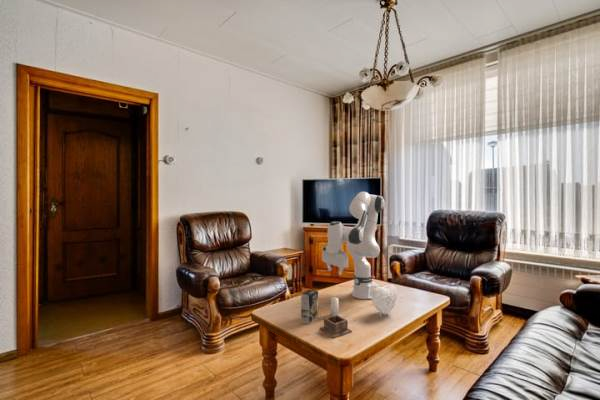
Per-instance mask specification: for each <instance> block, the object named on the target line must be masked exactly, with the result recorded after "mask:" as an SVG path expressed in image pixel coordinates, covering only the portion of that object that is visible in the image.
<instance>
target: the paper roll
mask: <svg viewBox="0 0 600 400" xmlns="http://www.w3.org/2000/svg"><path fill="white" fill-rule="evenodd" d="M333 315H338V316H339V298H338V297H334V296H333V297H331V298H330V316H333Z"/></svg>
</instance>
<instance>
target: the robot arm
mask: <svg viewBox="0 0 600 400" xmlns="http://www.w3.org/2000/svg"><path fill="white" fill-rule="evenodd" d="M385 201H386V200H385V197H383V196H382V195H376V194H369V192H367V191H360V192H358V193H357V194H356V195H354V196H353V199H352V200H351V203H350V204H349V207H348V209H349V213H350V214H351V215H352V216H353V217H354V218H355V219H358V220H357V224H356V225H355V226H345V225H343V224H342V222H341V221H338V220H336V221H331V222H329V223H328V227H327V235H326V236H327V243H326V246H325V245H324V246H322V247H321V250H322V252H321V260H322V262H323V263H325V264H326V267H327V271H329V272H331V271H332V267H331V265H332V266H335V267H338V269H339V270H338V271H337V275H339V276H341V275H342V274H343V271H344V269H346V268H347V269H348V268H349V257H348V254H347V253H346V251H345V250H343V243H347V244H346V250H347V252H348V253H349V255H350V256H351V258H352V261H353V264H354V265H353V266H354V275H353V280H354V282H353V287H352V288H353V289H352V294H351V296H353V297H354V298H357V299H362V300H371V301H372V292H373V290H374V289H375V288H377V287H380V286H379V285H378V284H377V283H376V282H374V280H375V278H376V276H375V275H371V274H372V273H371V272H372V269H371V268H372V267H371V263H370V262H369V261H368V260H367V258H368V259H373V258H374V259H375V258H377V257H378V256H379V255H380V252H381V249H380V246H379V244H378V242H377V241H376V228H377V223H378V219H379V218H378V216H379V213H380V212H381V211H383V210H384V207H385V203H386V202H385ZM376 292H377V291H376ZM378 292H379V291H378ZM376 295H378V293H377V294H376ZM381 295H384V294H381ZM374 299H375V298H374Z"/></svg>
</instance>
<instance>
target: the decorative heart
mask: <svg viewBox="0 0 600 400" xmlns="http://www.w3.org/2000/svg"><path fill="white" fill-rule="evenodd" d="M376 291H377V292H376ZM378 291H379V292H378ZM377 293H378V295H376V294H377ZM381 294H383V295H381ZM374 298H375V299H374ZM397 299H398V291H397V288H396V287H395V286H394V285H392V284H386V285H384V286H379V287H377V288H375V289H374V290H373V292H372V300H371V301H372V303H373V304H372V305H373V306H374V307H375V309H376V310H377V311H378V312H379V313H380V316H382V314H383V315H384V316H386V315H388V314H389V313H391V311H392V310H393V309H394V307H395V305H396V303H397Z"/></svg>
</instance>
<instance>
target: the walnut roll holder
mask: <svg viewBox="0 0 600 400" xmlns="http://www.w3.org/2000/svg"><path fill="white" fill-rule="evenodd" d="M319 330H320V331H322V332H323V333H325V334H327V335H328V336H330V337H331V338H332V339H336V338H340V337H342V336H345V335H348V334H351V333H353V332H352V329H349V328H348V319H346V318H344V317H342V316H340V315H339V314H338V315H333V316H331V315H330V316H327V317H325V318H323V326H320V327H319Z"/></svg>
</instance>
